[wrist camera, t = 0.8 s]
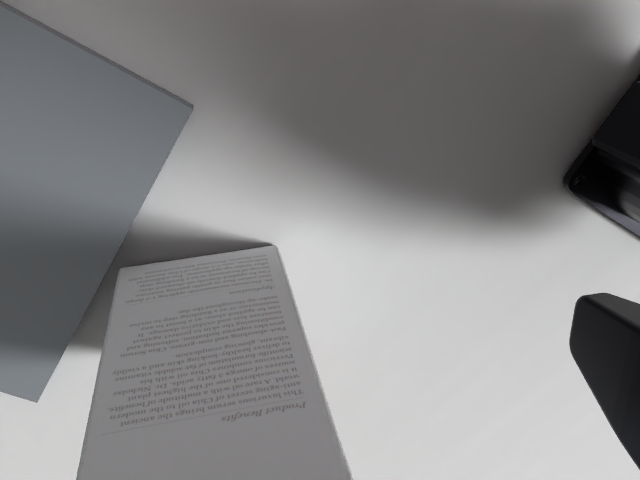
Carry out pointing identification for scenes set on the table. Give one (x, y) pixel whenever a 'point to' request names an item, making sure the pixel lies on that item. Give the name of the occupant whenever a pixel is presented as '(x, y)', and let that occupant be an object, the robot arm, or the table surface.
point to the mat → (66, 185)
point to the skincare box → (209, 378)
